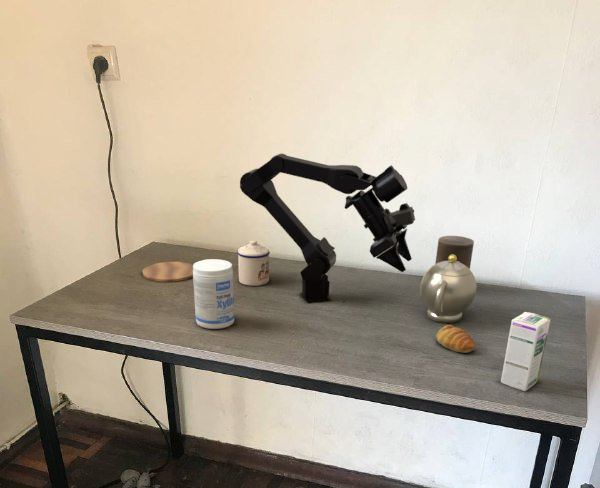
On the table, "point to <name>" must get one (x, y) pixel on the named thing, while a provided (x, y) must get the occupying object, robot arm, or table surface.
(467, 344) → the pastry
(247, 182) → the robot arm
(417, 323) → the table surface
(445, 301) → the teapot
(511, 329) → the syrup box
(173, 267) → the wooden trivet
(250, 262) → the teacup with lid
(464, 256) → the pillar candle
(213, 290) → the supplement tub
